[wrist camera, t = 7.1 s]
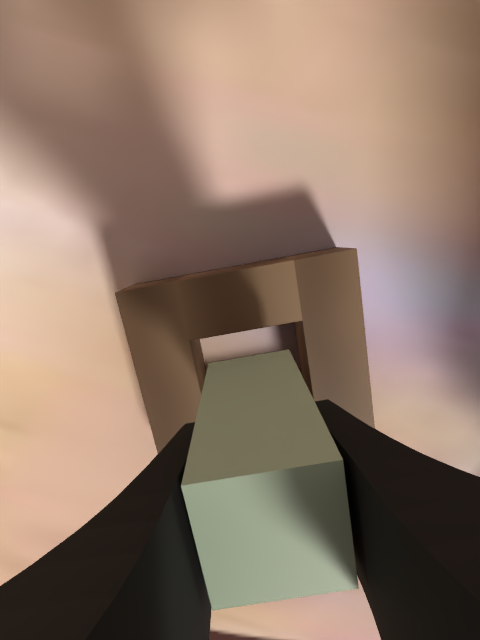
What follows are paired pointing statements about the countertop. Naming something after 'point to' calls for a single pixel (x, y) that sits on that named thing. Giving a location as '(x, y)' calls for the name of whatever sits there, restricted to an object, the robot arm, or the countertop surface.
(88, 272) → the countertop surface
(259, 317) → the brown square frame
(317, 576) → the sage peg
